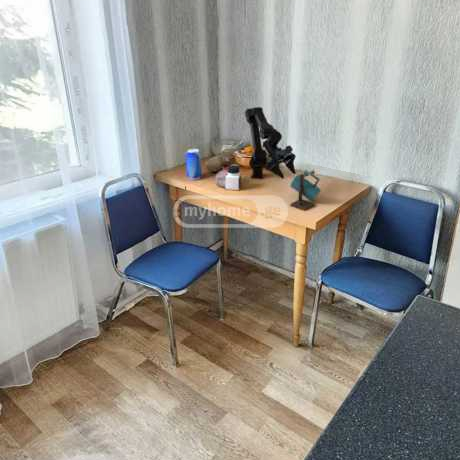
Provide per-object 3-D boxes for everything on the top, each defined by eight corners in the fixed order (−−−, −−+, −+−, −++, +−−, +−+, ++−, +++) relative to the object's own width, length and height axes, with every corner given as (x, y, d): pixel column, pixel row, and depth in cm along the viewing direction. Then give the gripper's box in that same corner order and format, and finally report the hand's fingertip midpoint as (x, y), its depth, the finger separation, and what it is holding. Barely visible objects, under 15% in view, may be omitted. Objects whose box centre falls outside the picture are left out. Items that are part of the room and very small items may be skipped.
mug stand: (290, 205, 187) (292, 176, 181) (309, 196, 197) (312, 168, 191) (304, 210, 182) (306, 181, 176) (323, 200, 192) (326, 172, 186)
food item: (228, 189, 206) (228, 171, 202) (214, 187, 209) (214, 169, 205) (238, 181, 217) (238, 164, 213) (225, 179, 220) (225, 162, 216)
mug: (310, 203, 188) (288, 188, 192) (316, 198, 194) (294, 183, 197) (321, 185, 181) (298, 169, 185) (327, 180, 187) (305, 165, 190)
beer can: (204, 176, 225) (203, 149, 218) (198, 181, 218) (197, 153, 211) (190, 174, 228) (189, 147, 221) (184, 179, 220) (182, 151, 214)
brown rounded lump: (215, 164, 248) (196, 166, 232) (218, 152, 246) (199, 154, 229) (232, 172, 243) (213, 174, 226) (235, 160, 240) (217, 161, 223)
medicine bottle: (238, 190, 205) (238, 168, 200) (225, 189, 206) (225, 167, 201) (241, 185, 211) (241, 164, 206) (228, 184, 212) (228, 163, 207)
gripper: (270, 144, 186) (287, 172, 184) (294, 137, 198) (310, 163, 196) (257, 157, 195) (273, 183, 192) (281, 149, 206) (296, 174, 204)
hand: (289, 175), depth 196 cm, fingers open, 9 cm apart
